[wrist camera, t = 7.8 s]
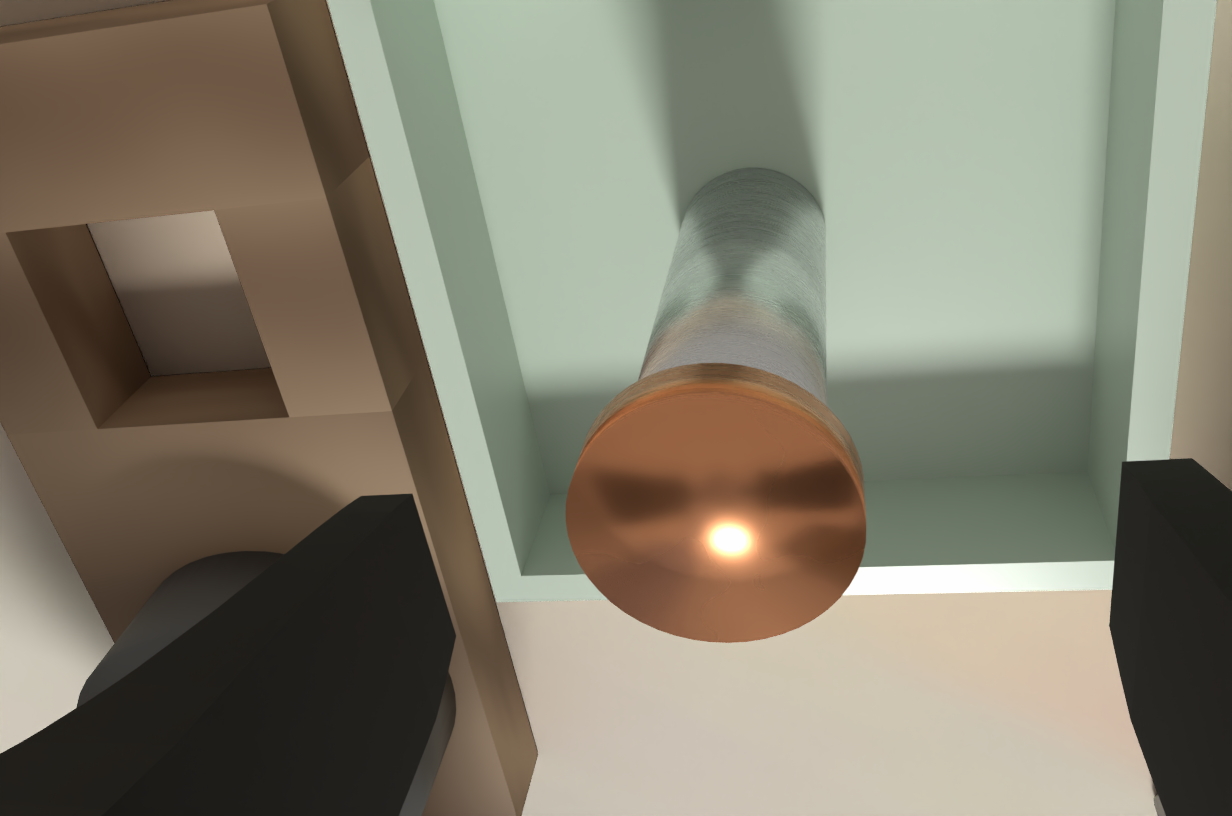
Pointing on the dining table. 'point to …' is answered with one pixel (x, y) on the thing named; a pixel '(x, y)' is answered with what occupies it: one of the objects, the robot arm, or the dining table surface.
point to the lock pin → (727, 434)
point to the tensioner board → (230, 400)
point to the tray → (855, 245)
